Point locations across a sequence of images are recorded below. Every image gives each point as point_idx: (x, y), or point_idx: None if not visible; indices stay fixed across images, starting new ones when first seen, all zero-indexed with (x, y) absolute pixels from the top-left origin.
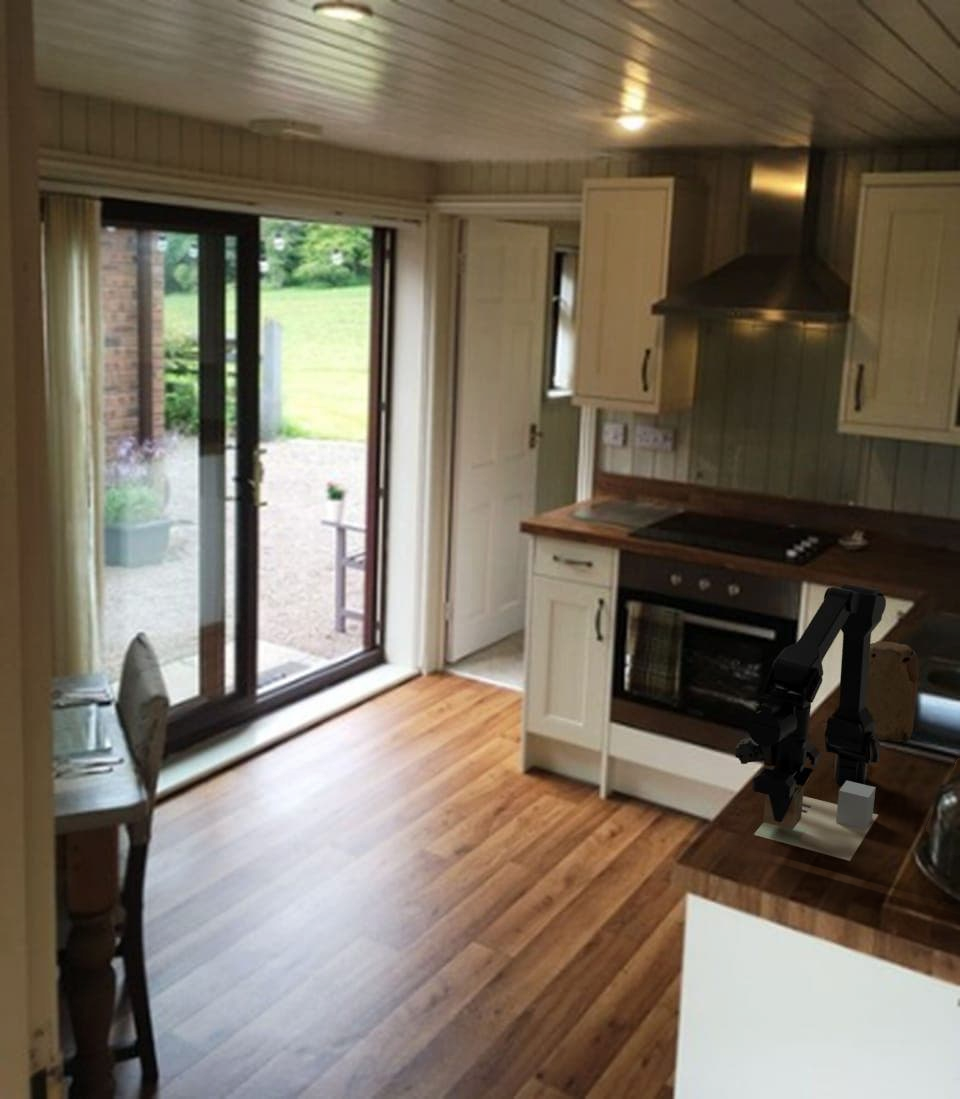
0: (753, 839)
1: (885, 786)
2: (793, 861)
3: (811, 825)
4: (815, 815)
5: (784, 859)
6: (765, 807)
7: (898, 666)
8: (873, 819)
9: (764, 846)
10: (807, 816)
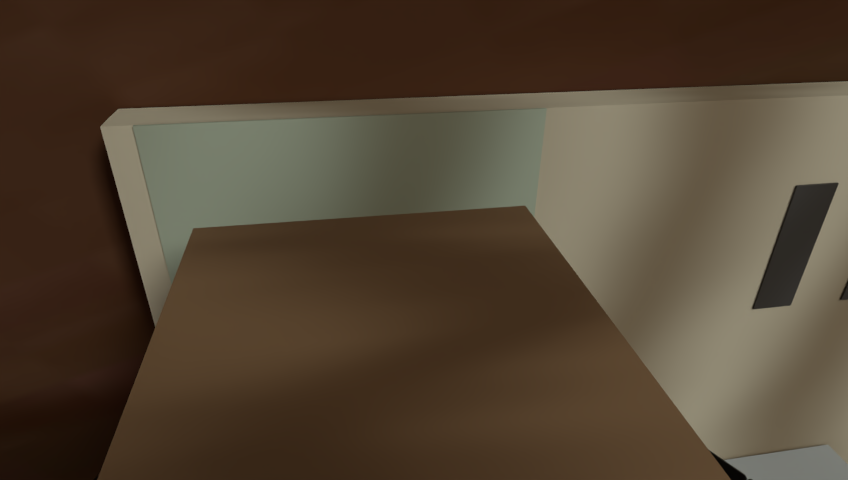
0: (134, 105)
1: None
2: (45, 447)
3: None
4: (732, 362)
5: (16, 403)
6: (153, 362)
7: None
8: None
9: (87, 228)
10: (700, 332)
